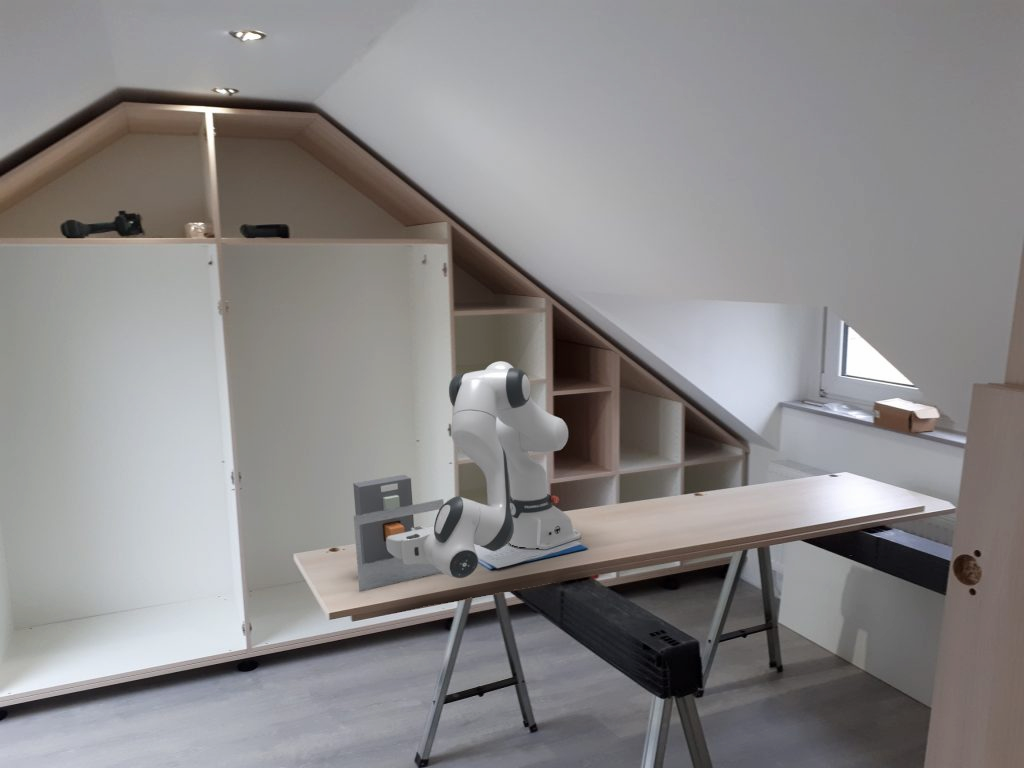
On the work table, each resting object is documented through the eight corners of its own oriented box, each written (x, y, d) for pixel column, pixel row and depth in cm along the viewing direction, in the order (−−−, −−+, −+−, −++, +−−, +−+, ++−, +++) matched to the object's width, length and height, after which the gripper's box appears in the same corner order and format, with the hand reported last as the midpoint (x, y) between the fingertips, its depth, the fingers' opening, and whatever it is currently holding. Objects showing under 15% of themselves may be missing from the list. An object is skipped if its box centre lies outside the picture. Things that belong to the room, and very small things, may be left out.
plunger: (405, 540, 231) (404, 526, 231) (391, 543, 229) (390, 529, 229) (396, 534, 237) (395, 520, 237) (382, 536, 236) (381, 523, 235)
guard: (447, 570, 235) (443, 499, 232) (359, 591, 223) (354, 516, 220) (436, 563, 241) (432, 493, 239) (351, 582, 230) (345, 509, 227)
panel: (419, 569, 237) (413, 479, 233) (368, 581, 230) (361, 488, 226) (410, 562, 243) (404, 474, 239) (360, 573, 236) (353, 483, 232)
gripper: (474, 523, 210) (451, 510, 222) (397, 541, 200) (377, 526, 213) (476, 548, 211) (453, 533, 223) (399, 566, 201) (379, 549, 214)
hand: (415, 529), depth 218 cm, fingers closed
